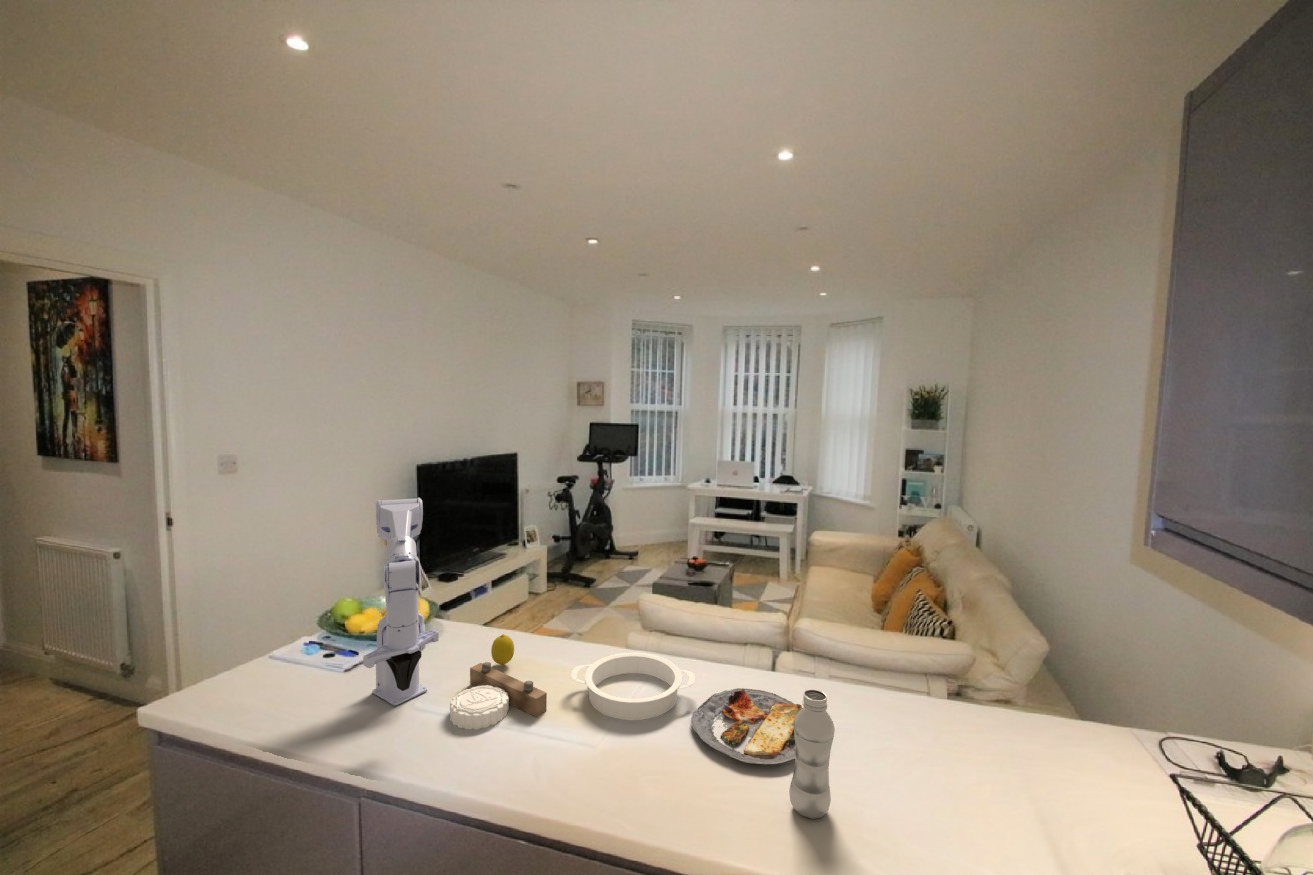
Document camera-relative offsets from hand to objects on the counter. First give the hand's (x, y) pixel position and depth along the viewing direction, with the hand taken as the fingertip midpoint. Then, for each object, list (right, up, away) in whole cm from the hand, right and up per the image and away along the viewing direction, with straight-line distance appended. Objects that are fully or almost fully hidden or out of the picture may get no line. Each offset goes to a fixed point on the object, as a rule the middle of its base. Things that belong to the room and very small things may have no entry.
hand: (403, 688), depth 108 cm
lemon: (+12, -8, +29) cm, 32 cm away
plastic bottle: (+76, -13, -17) cm, 79 cm away
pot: (+45, -10, +17) cm, 49 cm away
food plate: (+70, -11, +5) cm, 71 cm away
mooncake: (+12, -10, +8) cm, 18 cm away
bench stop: (+17, -9, +15) cm, 24 cm away
